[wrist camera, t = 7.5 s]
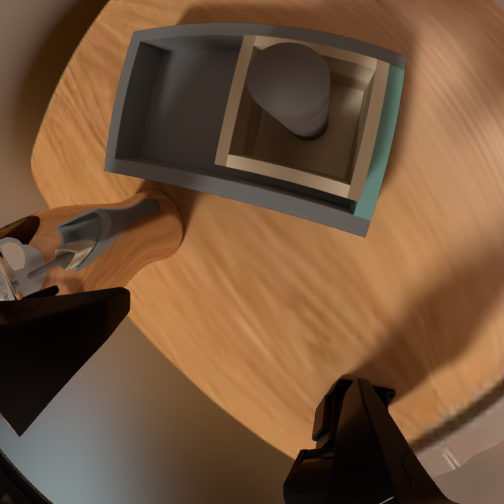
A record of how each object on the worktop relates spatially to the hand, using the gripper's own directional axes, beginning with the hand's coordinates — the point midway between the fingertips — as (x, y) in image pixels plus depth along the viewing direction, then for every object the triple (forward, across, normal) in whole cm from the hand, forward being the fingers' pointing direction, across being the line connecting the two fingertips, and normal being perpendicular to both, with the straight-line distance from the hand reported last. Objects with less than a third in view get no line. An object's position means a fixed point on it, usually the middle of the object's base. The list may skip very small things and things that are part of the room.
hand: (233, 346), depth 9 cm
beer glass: (+12, +11, +2) cm, 16 cm away
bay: (+11, +5, -9) cm, 15 cm away
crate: (+10, +1, -9) cm, 13 cm away
